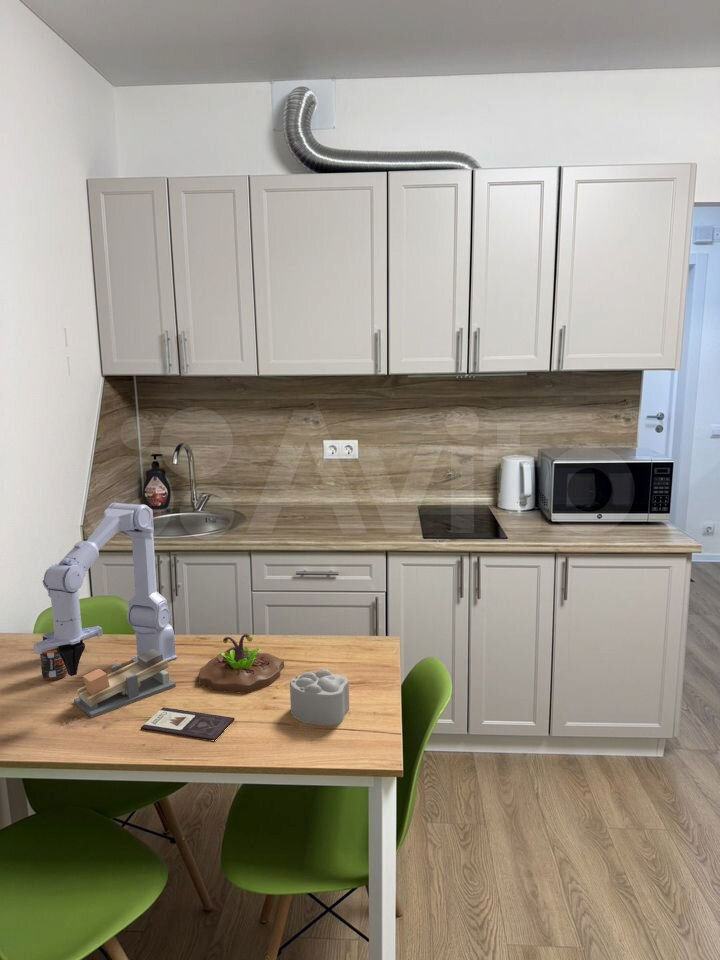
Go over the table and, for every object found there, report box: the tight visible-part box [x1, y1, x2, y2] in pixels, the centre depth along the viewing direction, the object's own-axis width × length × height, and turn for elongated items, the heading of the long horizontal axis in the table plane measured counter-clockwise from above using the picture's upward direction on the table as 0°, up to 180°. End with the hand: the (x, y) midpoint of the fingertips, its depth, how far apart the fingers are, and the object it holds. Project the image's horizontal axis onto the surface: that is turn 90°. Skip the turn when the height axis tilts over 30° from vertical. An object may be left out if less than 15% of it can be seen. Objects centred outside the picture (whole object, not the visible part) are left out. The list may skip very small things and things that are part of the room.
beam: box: [76, 649, 169, 707], centre depth 169 cm, size 20×6×5 cm, turn 134°
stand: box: [73, 663, 177, 719], centre depth 170 cm, size 21×10×6 cm, turn 133°
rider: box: [82, 668, 110, 695], centre depth 165 cm, size 4×4×4 cm
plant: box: [198, 633, 285, 694], centre depth 179 cm, size 20×20×11 cm
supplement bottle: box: [39, 631, 68, 681], centre depth 179 cm, size 6×6×11 cm
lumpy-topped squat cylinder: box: [289, 668, 350, 726], centre depth 160 cm, size 10×13×9 cm
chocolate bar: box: [140, 706, 235, 742], centre depth 156 cm, size 9×1×18 cm
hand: (72, 674), depth 160 cm, fingers closed
